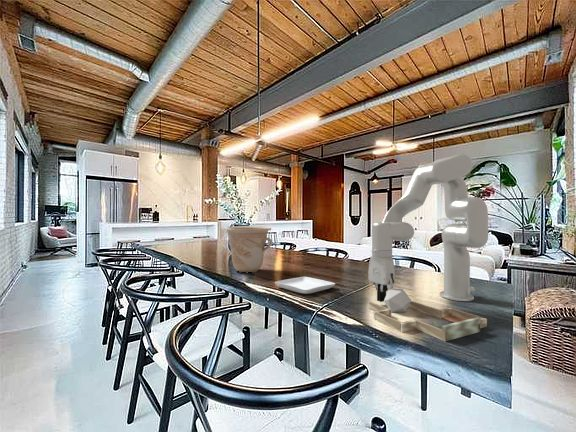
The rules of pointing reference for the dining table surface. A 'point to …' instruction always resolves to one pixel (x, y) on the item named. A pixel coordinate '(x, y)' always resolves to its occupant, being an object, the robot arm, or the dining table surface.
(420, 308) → the channel
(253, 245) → the vessel
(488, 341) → the dining table surface
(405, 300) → the die
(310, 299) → the dining table surface
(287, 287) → the salad plate
